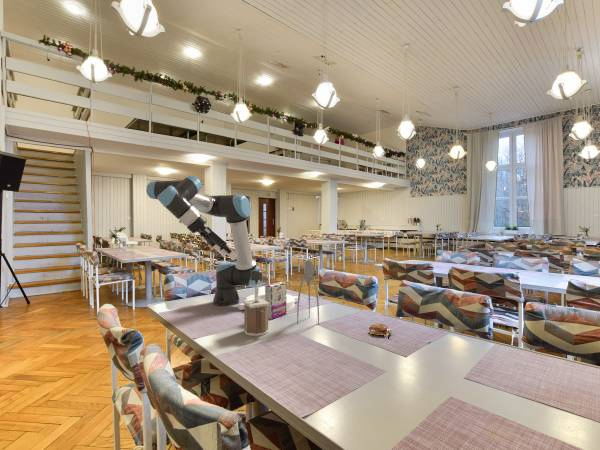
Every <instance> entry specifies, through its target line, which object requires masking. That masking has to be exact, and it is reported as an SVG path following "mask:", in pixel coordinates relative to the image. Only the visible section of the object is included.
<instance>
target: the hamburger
mask: <svg viewBox="0 0 600 450" xmlns="http://www.w3.org/2000/svg"><path fill="white" fill-rule="evenodd" d="M368 329H369V333H370V335H372V334H373V335H374V336H378V335H384V337H385V338H386V336H387V337H389V335H391V334H392V333H393V332H392V330H391V328H390V327H389V326H387V325H386V324H385V323H375V324H371V325H370V326H369V327H368Z"/></svg>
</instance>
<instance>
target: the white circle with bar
mask: <svg viewBox="0 0 600 450" xmlns="http://www.w3.org/2000/svg"><path fill="white" fill-rule="evenodd" d="M258 299H263V300H265V292H261V293H259V292H258ZM248 300H255V293H254V294H250V295H248V296H246V297H245V298H244V301H248ZM295 303H298V295H296V296H293V295H292V294H288V293H286V312H289V311H291V309H292V308H293V309H295V307H296V306H295V305H296V304H295ZM244 305H245V304H244V303H243V302H239V303H237V308H238V310H240V311H242V310H244ZM294 306H295V307H294ZM293 309H292V310H293ZM288 310H289V311H288Z"/></svg>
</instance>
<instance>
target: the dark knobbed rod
mask: <svg viewBox="0 0 600 450" xmlns="http://www.w3.org/2000/svg"><path fill="white" fill-rule="evenodd" d="M251 280H255V286H254V294H255V303H258V294H259V283H258V280H260V281H261V280H263V270H262V269H261V270H252V271H251Z"/></svg>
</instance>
